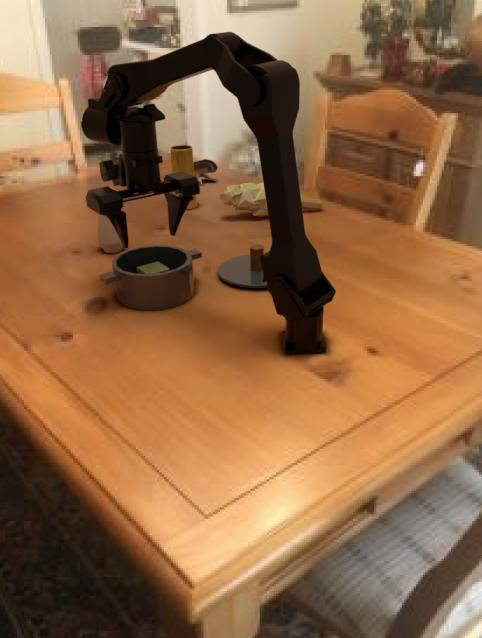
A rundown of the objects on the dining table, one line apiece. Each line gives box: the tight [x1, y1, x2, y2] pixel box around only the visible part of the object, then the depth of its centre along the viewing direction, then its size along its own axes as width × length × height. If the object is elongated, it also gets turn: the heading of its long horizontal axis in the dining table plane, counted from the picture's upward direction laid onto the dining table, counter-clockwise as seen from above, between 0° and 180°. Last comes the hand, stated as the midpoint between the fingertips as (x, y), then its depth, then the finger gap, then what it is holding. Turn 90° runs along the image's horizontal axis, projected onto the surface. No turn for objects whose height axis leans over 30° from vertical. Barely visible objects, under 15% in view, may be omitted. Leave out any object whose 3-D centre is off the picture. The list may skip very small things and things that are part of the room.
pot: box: [99, 244, 203, 311], centre depth 112 cm, size 14×19×6 cm
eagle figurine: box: [193, 158, 219, 186], centre depth 171 cm, size 8×7×9 cm
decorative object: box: [219, 181, 323, 218], centre depth 147 cm, size 9×10×25 cm
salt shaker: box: [97, 186, 124, 254], centre depth 128 cm, size 6×6×13 cm
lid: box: [217, 243, 267, 289], centre depth 118 cm, size 15×15×6 cm
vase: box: [169, 144, 199, 211], centre depth 152 cm, size 6×6×14 cm
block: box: [137, 261, 170, 274], centre depth 112 cm, size 4×4×4 cm
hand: (149, 241), depth 108 cm, fingers open, 9 cm apart
